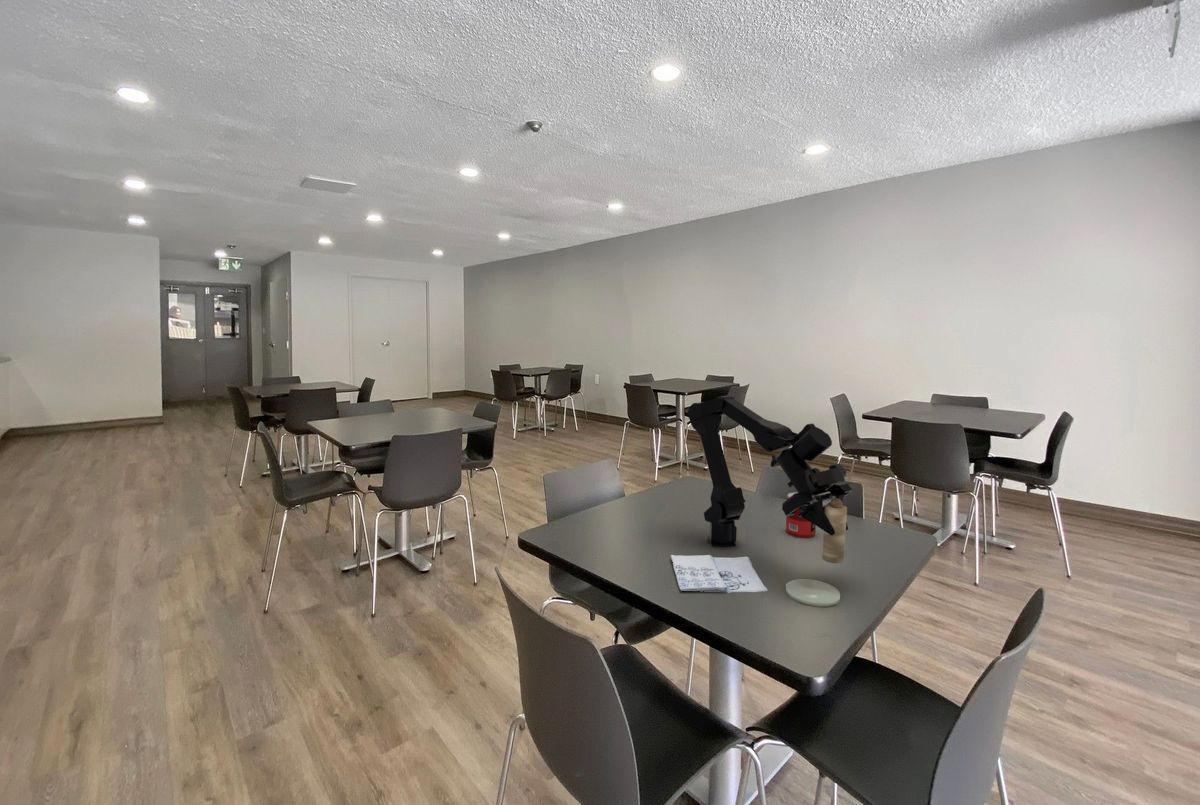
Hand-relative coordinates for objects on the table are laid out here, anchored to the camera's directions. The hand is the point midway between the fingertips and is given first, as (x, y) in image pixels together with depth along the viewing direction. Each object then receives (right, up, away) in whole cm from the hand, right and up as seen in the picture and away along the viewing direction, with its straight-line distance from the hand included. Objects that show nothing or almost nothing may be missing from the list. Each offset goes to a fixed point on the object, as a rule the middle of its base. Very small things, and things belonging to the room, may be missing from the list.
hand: (840, 532), depth 118 cm
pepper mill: (-1, -6, +2) cm, 7 cm away
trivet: (-6, -14, 0) cm, 15 cm away
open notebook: (-25, -13, +10) cm, 30 cm away
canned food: (+5, -9, +37) cm, 39 cm away
